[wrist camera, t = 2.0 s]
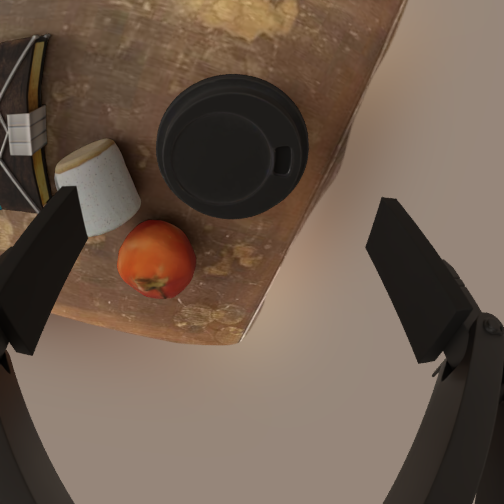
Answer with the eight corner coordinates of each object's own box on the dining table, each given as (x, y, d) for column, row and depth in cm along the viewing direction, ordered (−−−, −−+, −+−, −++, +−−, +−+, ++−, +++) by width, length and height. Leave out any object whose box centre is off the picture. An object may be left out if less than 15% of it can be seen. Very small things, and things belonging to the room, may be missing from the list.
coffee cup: (296, 126, 31) (336, 194, 19) (214, 163, 33) (201, 251, 21) (256, 44, 25) (273, 49, 13) (169, 88, 28) (118, 132, 16)
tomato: (134, 199, 35) (114, 241, 29) (208, 222, 38) (203, 267, 31) (122, 258, 40) (106, 301, 34) (187, 276, 43) (181, 322, 36)
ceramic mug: (123, 126, 29) (94, 153, 23) (149, 191, 34) (130, 230, 28) (49, 158, 31) (15, 190, 25) (78, 214, 36) (52, 252, 30)
